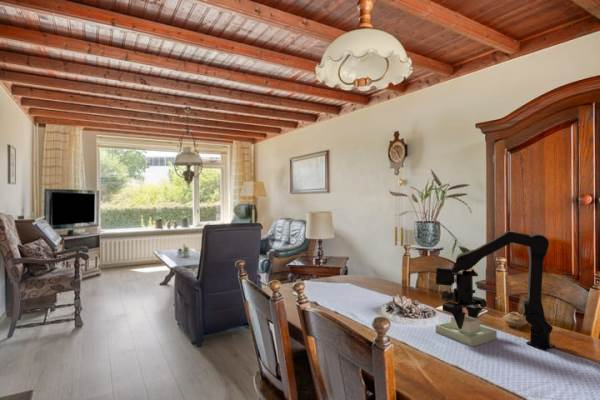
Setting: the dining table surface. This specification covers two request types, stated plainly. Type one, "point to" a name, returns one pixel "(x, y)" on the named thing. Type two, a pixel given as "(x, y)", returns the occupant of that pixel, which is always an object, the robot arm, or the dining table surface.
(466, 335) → the green tray
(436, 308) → the photo frame
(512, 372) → the dining table surface
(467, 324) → the small crate
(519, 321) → the pottery oil lamp
